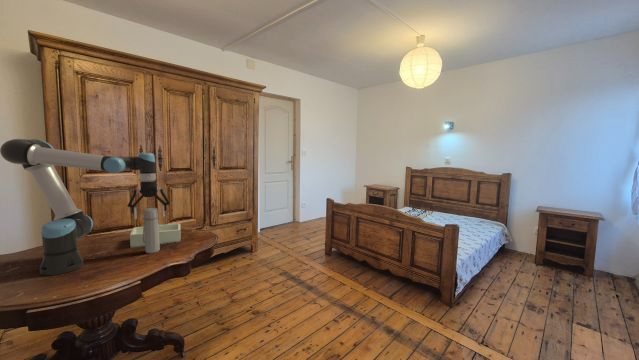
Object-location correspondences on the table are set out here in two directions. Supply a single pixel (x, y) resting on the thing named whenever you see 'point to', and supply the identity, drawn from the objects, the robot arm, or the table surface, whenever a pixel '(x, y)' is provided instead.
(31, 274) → the table surface
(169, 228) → the pale green storage bin
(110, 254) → the table surface
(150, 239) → the water bottle
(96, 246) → the table surface
